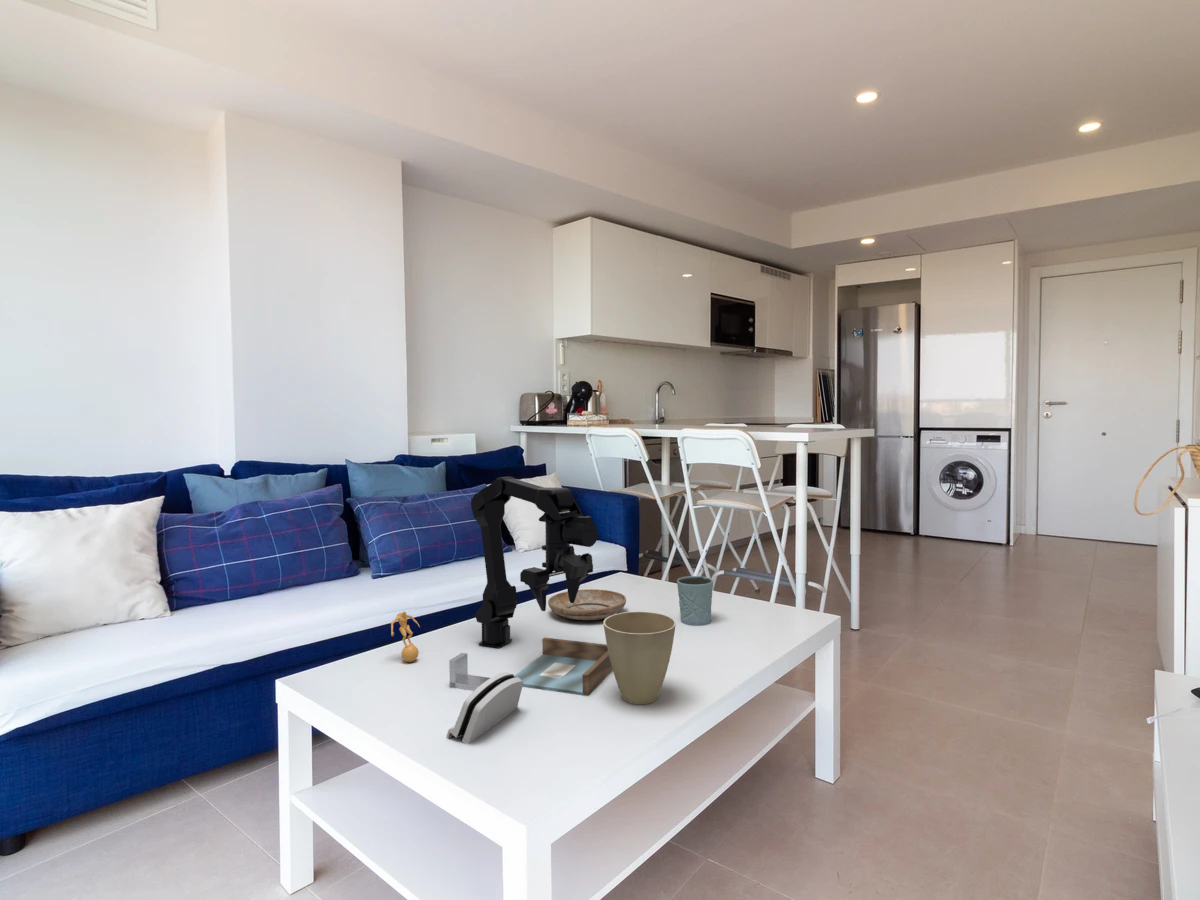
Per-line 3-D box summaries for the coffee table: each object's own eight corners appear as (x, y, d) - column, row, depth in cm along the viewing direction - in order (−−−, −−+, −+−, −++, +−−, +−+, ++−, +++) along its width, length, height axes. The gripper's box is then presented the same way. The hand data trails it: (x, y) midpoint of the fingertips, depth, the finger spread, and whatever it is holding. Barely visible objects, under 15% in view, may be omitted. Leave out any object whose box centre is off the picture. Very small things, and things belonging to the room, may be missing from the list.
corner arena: (506, 684, 145) (506, 664, 145) (544, 655, 163) (544, 637, 163) (588, 695, 138) (587, 675, 138) (618, 664, 156) (618, 645, 156)
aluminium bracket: (449, 687, 144) (449, 660, 144) (462, 679, 149) (461, 652, 148) (481, 692, 141) (481, 664, 141) (493, 683, 146) (493, 656, 146)
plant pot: (589, 699, 136) (588, 623, 136) (633, 678, 148) (632, 607, 147) (648, 720, 127) (647, 638, 126) (690, 695, 138) (689, 619, 138)
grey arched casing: (497, 703, 135) (510, 660, 134) (515, 714, 134) (529, 671, 132) (444, 738, 120) (458, 690, 119) (464, 752, 119) (479, 703, 117)
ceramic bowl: (599, 600, 214) (599, 584, 214) (641, 617, 194) (641, 601, 194) (535, 611, 202) (534, 595, 201) (572, 631, 182) (572, 613, 181)
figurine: (401, 668, 155) (400, 617, 155) (385, 663, 159) (384, 613, 158) (429, 657, 162) (428, 609, 162) (413, 653, 166) (411, 605, 165)
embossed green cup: (718, 619, 191) (718, 578, 190) (704, 629, 182) (704, 585, 182) (686, 614, 196) (686, 574, 196) (671, 623, 188) (671, 581, 187)
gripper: (551, 552, 144) (551, 622, 145) (609, 540, 157) (609, 605, 158) (518, 545, 152) (519, 612, 153) (576, 534, 165) (577, 596, 166)
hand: (557, 606), depth 157 cm, fingers open, 9 cm apart
